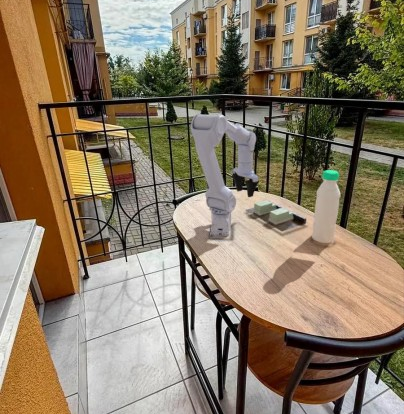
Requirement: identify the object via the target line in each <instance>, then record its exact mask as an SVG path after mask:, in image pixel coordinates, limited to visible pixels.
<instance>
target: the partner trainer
mask: <svg viewBox="0 0 404 414" xmlns="http://www.w3.org/2000/svg"><path fill="white" fill-rule="evenodd" d="M267 200H268V199H265V200H261V201H258V202H254V204H253V205H254V206H253V208H254V210H253V212H254V213H256V214H258V215H259V216H260V215H263V214H266V213H270V211H273V210H276V204H277V203H275V202H273V201H271V200H269V201H267ZM270 201H271V202H270ZM272 202H273V203H272ZM274 203H275V204H274Z"/></svg>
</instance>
